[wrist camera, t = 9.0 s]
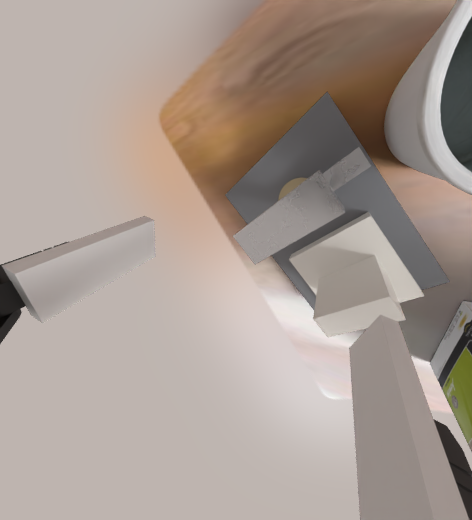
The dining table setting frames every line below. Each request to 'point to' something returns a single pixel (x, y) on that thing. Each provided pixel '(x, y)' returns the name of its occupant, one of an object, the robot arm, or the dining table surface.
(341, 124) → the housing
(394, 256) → the cover
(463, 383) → the tea box
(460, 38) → the utensil holder
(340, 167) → the t key
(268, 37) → the dining table surface
